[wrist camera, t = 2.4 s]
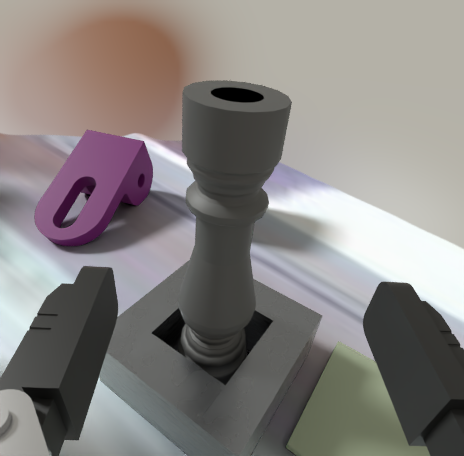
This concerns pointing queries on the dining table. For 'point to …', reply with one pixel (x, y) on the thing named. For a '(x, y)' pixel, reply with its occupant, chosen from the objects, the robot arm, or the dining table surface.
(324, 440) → the mat
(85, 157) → the mounting bracket
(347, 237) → the dining table surface
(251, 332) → the socket block
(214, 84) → the candle holder
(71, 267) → the dining table surface
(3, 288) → the dining table surface
